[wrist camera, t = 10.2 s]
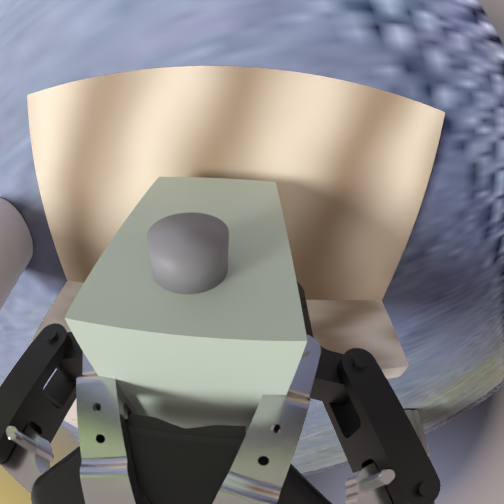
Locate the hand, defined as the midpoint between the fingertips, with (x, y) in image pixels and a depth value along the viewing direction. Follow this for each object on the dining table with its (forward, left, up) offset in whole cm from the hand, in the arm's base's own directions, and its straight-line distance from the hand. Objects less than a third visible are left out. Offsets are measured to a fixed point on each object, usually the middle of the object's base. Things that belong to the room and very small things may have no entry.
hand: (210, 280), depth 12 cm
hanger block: (0, 0, -2) cm, 2 cm away
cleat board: (0, -2, -5) cm, 5 cm away
